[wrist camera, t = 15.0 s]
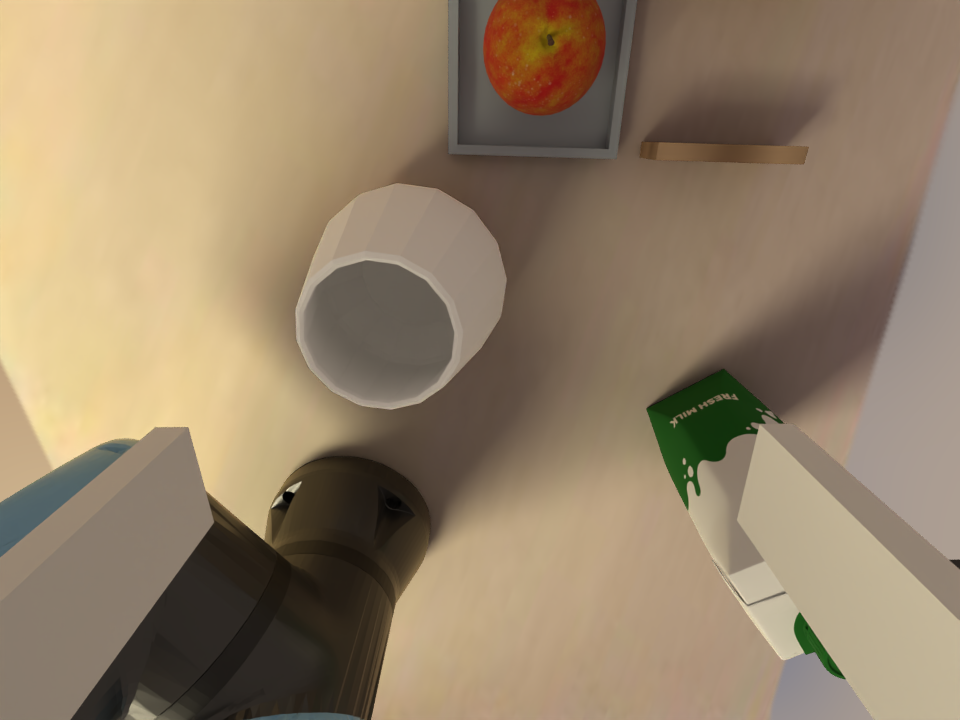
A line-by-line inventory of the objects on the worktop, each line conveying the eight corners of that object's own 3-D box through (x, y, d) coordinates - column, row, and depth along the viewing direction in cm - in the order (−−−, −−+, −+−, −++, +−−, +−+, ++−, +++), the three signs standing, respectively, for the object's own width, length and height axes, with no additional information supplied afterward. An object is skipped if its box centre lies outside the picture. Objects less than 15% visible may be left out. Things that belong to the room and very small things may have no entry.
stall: (639, 157, 34) (655, 160, 31) (668, -41, 30) (692, -65, 26) (771, 161, 34) (803, 164, 30) (820, -37, 30) (866, -62, 26)
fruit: (483, -6, 31) (477, -51, 23) (597, -12, 30) (628, -60, 23) (486, 119, 33) (482, 114, 26) (590, 115, 33) (616, 109, 26)
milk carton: (676, 477, 45) (795, 708, 27) (630, 404, 42) (728, 606, 24) (771, 433, 43) (971, 652, 25) (729, 352, 40) (921, 533, 22)
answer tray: (450, 153, 35) (448, 154, 33) (450, -47, 30) (448, -57, 29) (611, 158, 34) (616, 159, 33) (637, -43, 30) (644, -52, 28)
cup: (298, 229, 37) (192, 277, 25) (456, 142, 34) (429, 146, 22) (389, 375, 42) (340, 477, 29) (534, 309, 39) (550, 392, 26)
